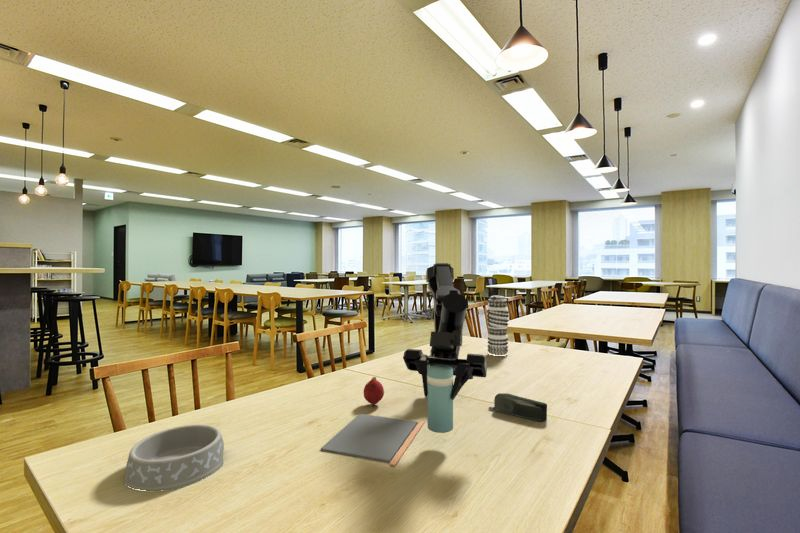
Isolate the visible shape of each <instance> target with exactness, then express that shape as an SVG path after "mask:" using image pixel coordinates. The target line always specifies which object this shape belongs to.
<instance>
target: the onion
mask: <svg viewBox="0 0 800 533" xmlns="http://www.w3.org/2000/svg"><path fill="white" fill-rule="evenodd" d="M383 386H384V385H383V384H382V383H381V382H380V381H379V380H377V377H376V376H373V377H372V378H371V380H369V381H368V382H367V383H366V384H365V386H364V387H363V397H364V399H365V401H366V402H368V403H369V404H370V405H372V406H376V405H377V404H378V403H379V402H380V401H381V400H383V398H384V395H385V389H384V387H383Z"/></svg>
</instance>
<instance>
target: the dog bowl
mask: <svg viewBox="0 0 800 533" xmlns="http://www.w3.org/2000/svg"><path fill="white" fill-rule="evenodd" d="M224 449H225V441H224V439H223V435H222V433H221V430H220V429H219V428H217V427H215V426H211V425H209V424H189V425H188V424H187V425H181V426H175V427H171V428H167V429H163V430H161V431H158V432H155V433H153V434H151V435H148V436H146V437H145V438H143V439H141V440H139V441H138V442H137V443H136V444H134V445H133V446H132V448H131V449H130V451H129V453H128V458H127V461H126V466H125V476H124V483H125V484H126V485H127V486H129V487H131V488H134V489H140V490H146V491H161V490H169V491H173V490H172V489H174V490H177V488H178V489H182V488H184V487H185V488H186V487H188V486H190V485H193V484H196V483H199V482H201V481H202V479H203V480H205V479H207V478H209V477H210V476H212V475H213V474H215V473H216V472H218V471H220V469H221V468H222V467H223V466H224ZM208 476H209V477H208ZM206 477H207V478H206ZM125 484H124V485H125ZM126 485H125V486H126ZM127 486H126V487H127Z"/></svg>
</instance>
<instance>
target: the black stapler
mask: <svg viewBox="0 0 800 533" xmlns="http://www.w3.org/2000/svg"><path fill="white" fill-rule="evenodd" d="M493 401H494V402H493V403H494V404H493V405H494V406H493V407H492V406H488V410H492V411H495V412H500V413H504V414H506V415H511V416H515V417H519V418H522V419H525V420H526V419H527V420H530V421H533V420H534V421H533V422H540V423H541V422H546V421H547V418H548V415H547V414H548V404H547V403H545V402H542V401H537V400H534V399H531V398H527V397H523V396H518V395H516V394H511V393H508V392H507V393H503V392H502V393H497V394H496V395H495V396H494V399H493Z"/></svg>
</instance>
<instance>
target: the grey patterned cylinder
mask: <svg viewBox="0 0 800 533" xmlns="http://www.w3.org/2000/svg"><path fill="white" fill-rule="evenodd" d="M487 300H488V307H487V310H486V313H487V315H486V317H487V321H488V323H487V327H488V337H487V340H488V341H487V344H488V345H487V353H488V352H489V353H491V354H495V355H505V354H507V353H508V352H509V345H508V344H509V342H508V341H509V338H508V333H507V332H508V330H507V329H509V319H507V318H509V315H508V314H509V311H508V306H507V305H508V299H507V298H506V296H504V295H491V296H490V297H489V298H488V299H487Z"/></svg>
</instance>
